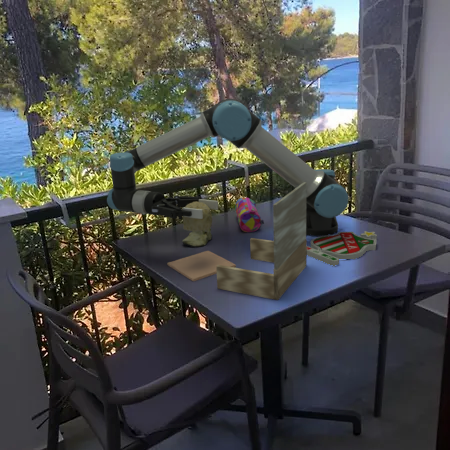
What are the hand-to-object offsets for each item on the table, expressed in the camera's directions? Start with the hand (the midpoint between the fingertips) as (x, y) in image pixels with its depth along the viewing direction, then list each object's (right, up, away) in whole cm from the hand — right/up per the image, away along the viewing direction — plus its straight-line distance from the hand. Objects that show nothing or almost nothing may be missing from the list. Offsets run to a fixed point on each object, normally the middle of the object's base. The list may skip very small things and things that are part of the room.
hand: (209, 209), depth 144 cm
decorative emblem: (+46, -13, +18) cm, 51 cm away
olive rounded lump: (-4, -5, +4) cm, 8 cm away
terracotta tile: (-3, -18, +8) cm, 20 cm away
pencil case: (+14, -5, +46) cm, 48 cm away
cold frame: (+16, -20, -1) cm, 26 cm away
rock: (-5, -11, +29) cm, 32 cm away
